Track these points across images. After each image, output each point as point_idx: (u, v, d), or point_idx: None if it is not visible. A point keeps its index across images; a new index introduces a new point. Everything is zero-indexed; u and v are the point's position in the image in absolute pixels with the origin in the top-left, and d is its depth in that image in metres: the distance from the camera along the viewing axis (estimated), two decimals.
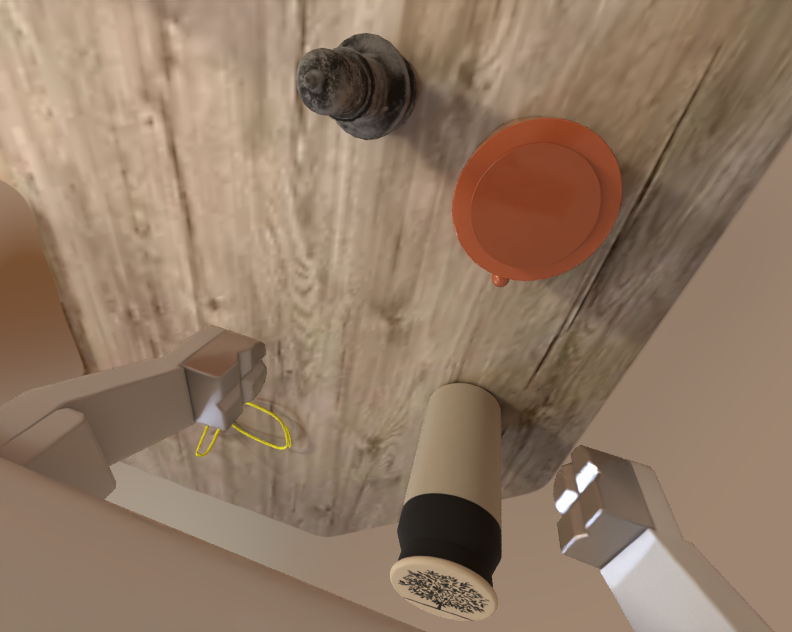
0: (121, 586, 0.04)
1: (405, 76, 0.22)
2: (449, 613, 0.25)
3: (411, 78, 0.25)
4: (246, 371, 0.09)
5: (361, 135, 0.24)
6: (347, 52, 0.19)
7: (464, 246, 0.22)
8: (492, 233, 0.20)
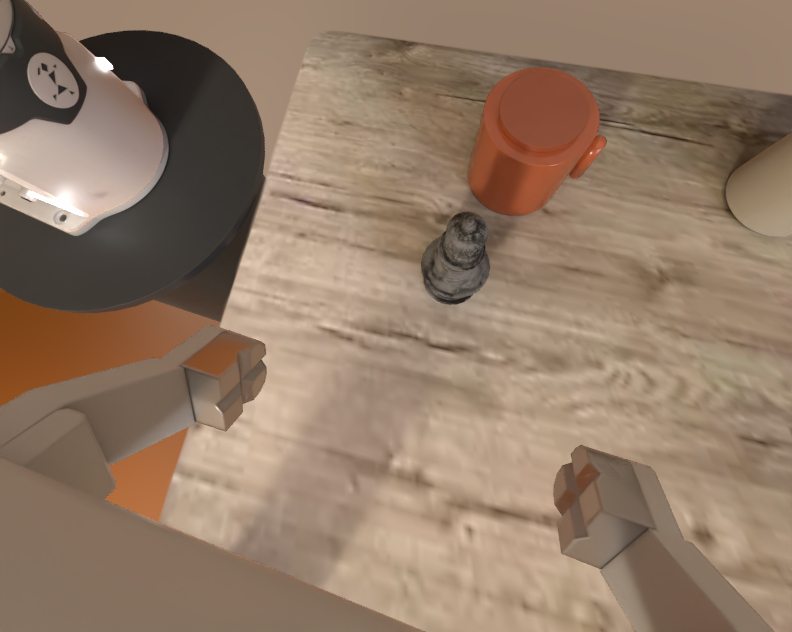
0: (120, 586, 0.04)
1: None
2: None
3: None
4: (246, 371, 0.09)
5: (486, 270, 0.30)
6: (441, 241, 0.26)
7: (576, 155, 0.27)
8: (563, 131, 0.26)
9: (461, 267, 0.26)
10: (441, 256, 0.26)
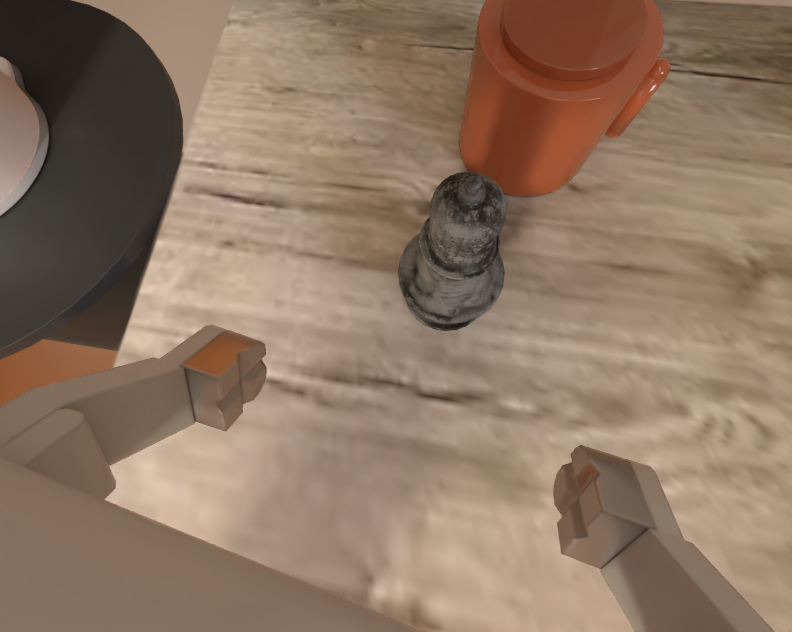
0: (120, 587, 0.04)
1: None
2: None
3: None
4: (246, 371, 0.09)
5: (500, 276, 0.19)
6: (425, 232, 0.16)
7: (633, 80, 0.16)
8: (610, 43, 0.16)
9: (461, 273, 0.15)
10: (426, 257, 0.15)
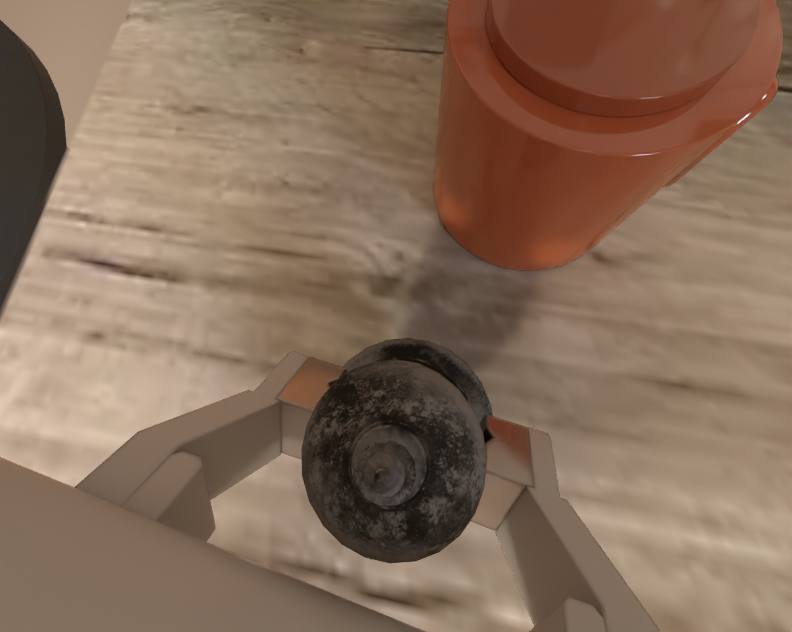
0: (120, 586, 0.04)
1: (384, 345, 0.12)
2: None
3: None
4: None
5: None
6: None
7: (733, 117, 0.09)
8: (692, 46, 0.09)
9: None
10: None
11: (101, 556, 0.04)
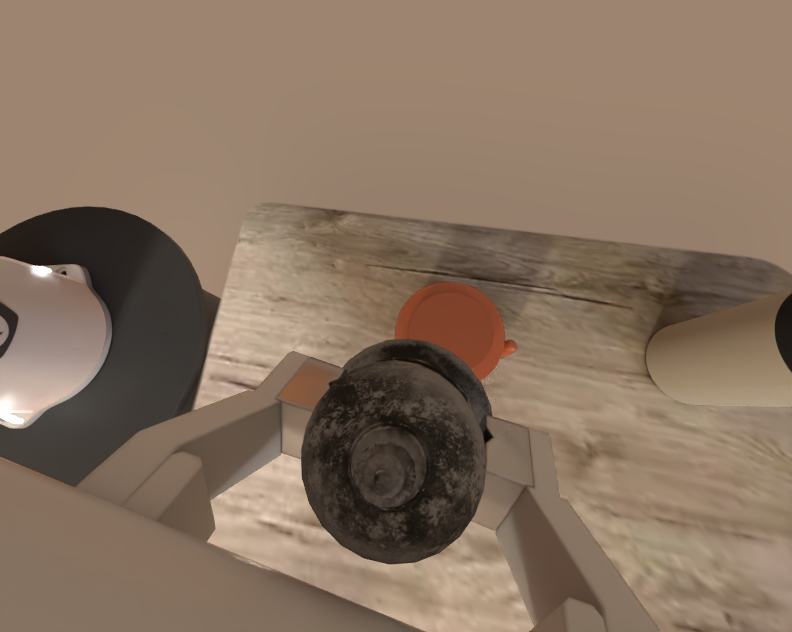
0: (120, 586, 0.04)
1: (384, 345, 0.12)
2: None
3: None
4: None
5: None
6: None
7: (483, 376, 0.28)
8: (469, 356, 0.28)
9: None
10: None
11: (101, 556, 0.04)
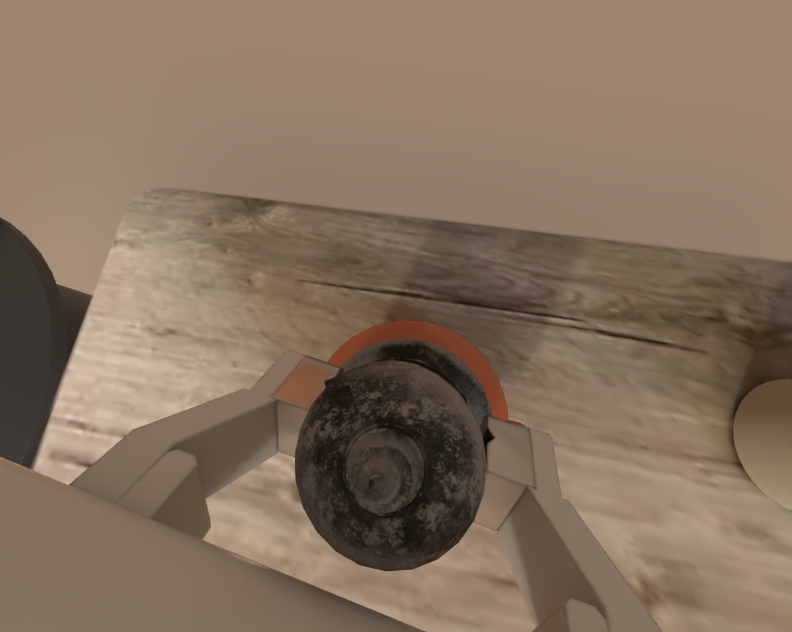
0: (120, 586, 0.04)
1: (383, 345, 0.12)
2: None
3: None
4: None
5: None
6: None
7: None
8: None
9: None
10: None
11: (101, 556, 0.04)
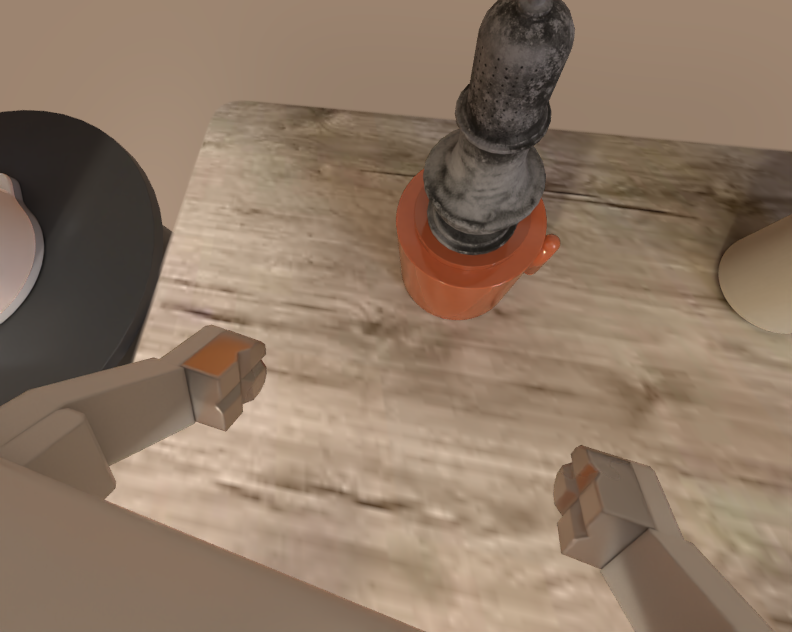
0: (121, 587, 0.04)
1: None
2: None
3: None
4: (246, 371, 0.09)
5: (541, 179, 0.17)
6: (462, 101, 0.13)
7: (518, 271, 0.20)
8: None
9: (506, 144, 0.13)
10: (464, 129, 0.13)
11: (101, 556, 0.04)
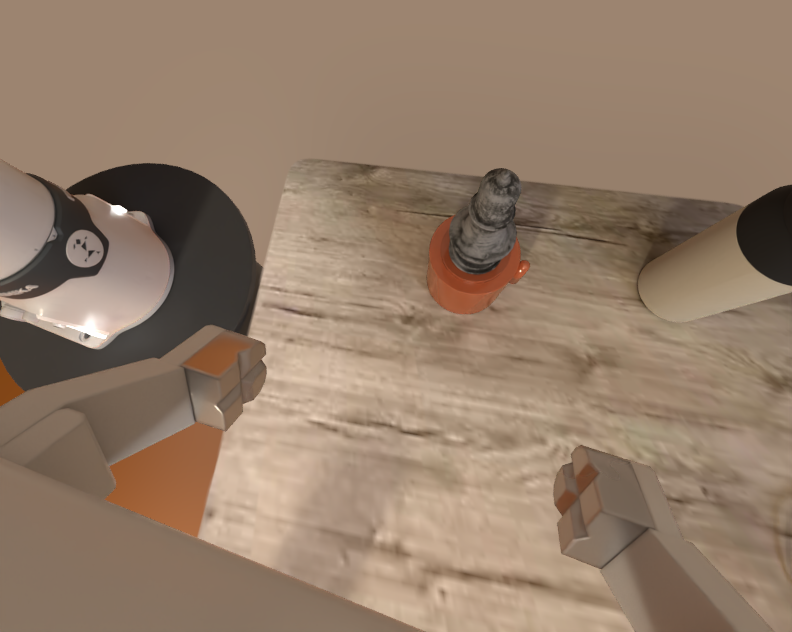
0: (120, 587, 0.04)
1: None
2: None
3: None
4: (246, 371, 0.09)
5: (514, 235, 0.30)
6: (472, 204, 0.27)
7: (503, 284, 0.34)
8: None
9: (493, 226, 0.26)
10: (473, 218, 0.27)
11: (101, 556, 0.04)
